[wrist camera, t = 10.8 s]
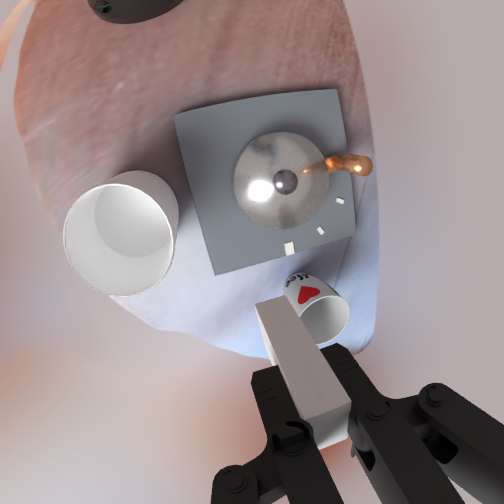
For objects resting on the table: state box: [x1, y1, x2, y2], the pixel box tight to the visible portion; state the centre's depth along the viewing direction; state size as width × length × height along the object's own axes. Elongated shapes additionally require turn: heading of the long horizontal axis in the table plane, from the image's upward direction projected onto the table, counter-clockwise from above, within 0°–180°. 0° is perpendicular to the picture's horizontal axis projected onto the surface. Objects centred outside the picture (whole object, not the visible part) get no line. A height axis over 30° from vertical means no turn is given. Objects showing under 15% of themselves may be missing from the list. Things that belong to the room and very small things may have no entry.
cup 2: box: [283, 273, 350, 345], centre depth 40 cm, size 8×8×10 cm
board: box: [172, 89, 356, 276], centre depth 36 cm, size 22×22×2 cm
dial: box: [231, 132, 373, 230], centre depth 32 cm, size 16×12×6 cm
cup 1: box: [63, 170, 179, 297], centre depth 30 cm, size 12×12×12 cm
